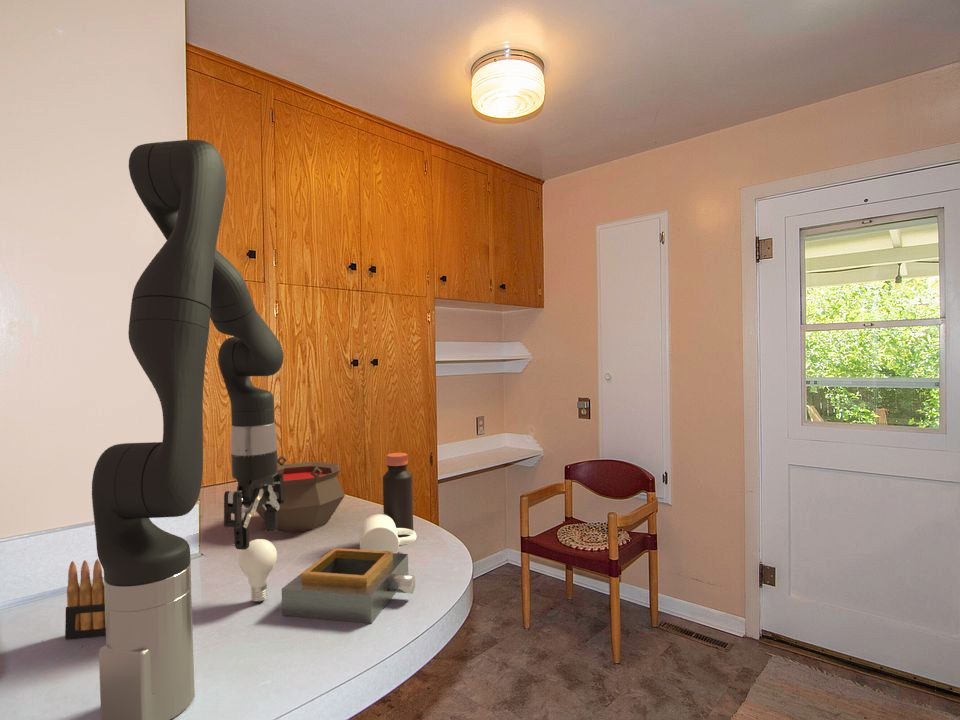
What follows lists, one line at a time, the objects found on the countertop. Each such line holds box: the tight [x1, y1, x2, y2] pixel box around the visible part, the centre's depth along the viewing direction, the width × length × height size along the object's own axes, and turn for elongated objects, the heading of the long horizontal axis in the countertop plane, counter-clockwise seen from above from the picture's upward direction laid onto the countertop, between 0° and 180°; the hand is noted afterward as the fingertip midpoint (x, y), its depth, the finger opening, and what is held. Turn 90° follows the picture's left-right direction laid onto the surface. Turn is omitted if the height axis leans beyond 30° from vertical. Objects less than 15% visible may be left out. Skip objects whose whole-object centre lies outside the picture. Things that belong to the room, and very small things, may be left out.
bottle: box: [382, 452, 414, 538], centre depth 125 cm, size 7×7×20 cm
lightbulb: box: [238, 538, 278, 603], centre depth 96 cm, size 6×6×11 cm
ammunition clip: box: [64, 558, 106, 641], centre depth 86 cm, size 11×2×12 cm, turn 99°
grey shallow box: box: [281, 547, 416, 625], centre depth 97 cm, size 18×20×6 cm
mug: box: [359, 512, 417, 553], centre depth 116 cm, size 12×10×8 cm
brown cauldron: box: [255, 454, 346, 533], centre depth 139 cm, size 24×24×16 cm
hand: (257, 539), depth 96 cm, fingers open, 8 cm apart
